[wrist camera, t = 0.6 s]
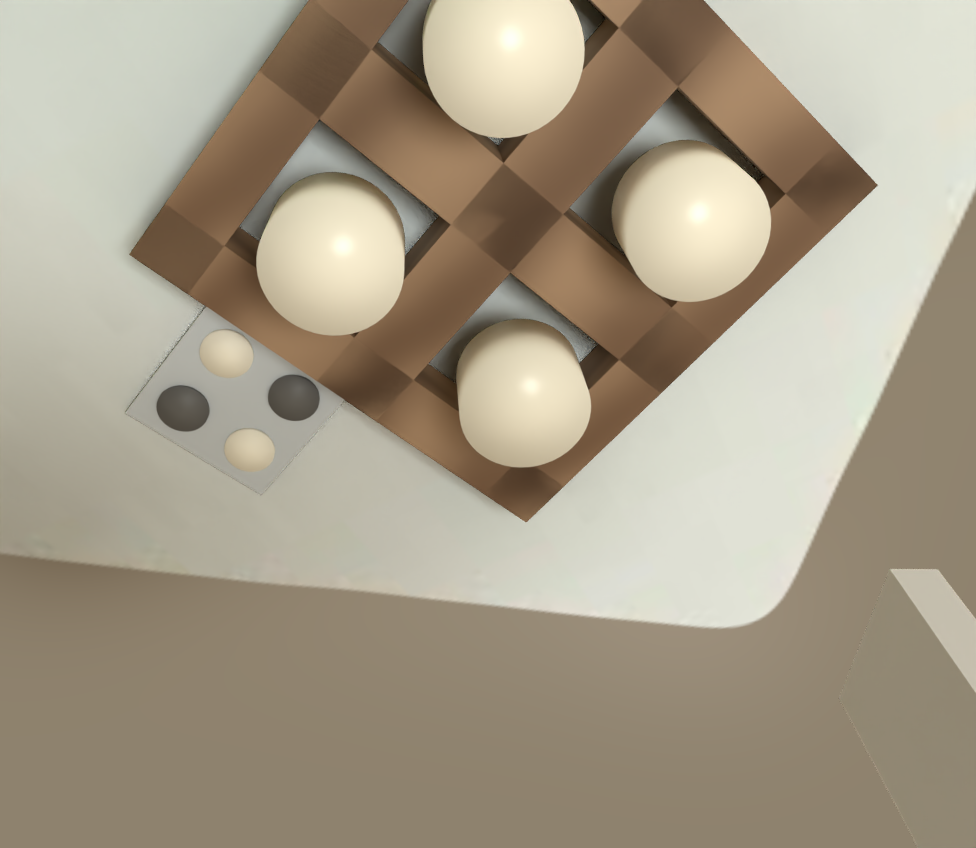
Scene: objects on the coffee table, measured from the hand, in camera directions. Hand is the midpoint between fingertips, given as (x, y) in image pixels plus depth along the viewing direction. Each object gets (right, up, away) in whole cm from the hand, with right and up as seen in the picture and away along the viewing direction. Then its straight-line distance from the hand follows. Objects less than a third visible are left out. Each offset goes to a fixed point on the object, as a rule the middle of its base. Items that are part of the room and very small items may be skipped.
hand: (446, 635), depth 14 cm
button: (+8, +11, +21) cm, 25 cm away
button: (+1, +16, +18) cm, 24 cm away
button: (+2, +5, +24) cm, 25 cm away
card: (-10, +4, +27) cm, 29 cm away
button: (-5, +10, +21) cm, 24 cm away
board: (+1, +12, +24) cm, 27 cm away
